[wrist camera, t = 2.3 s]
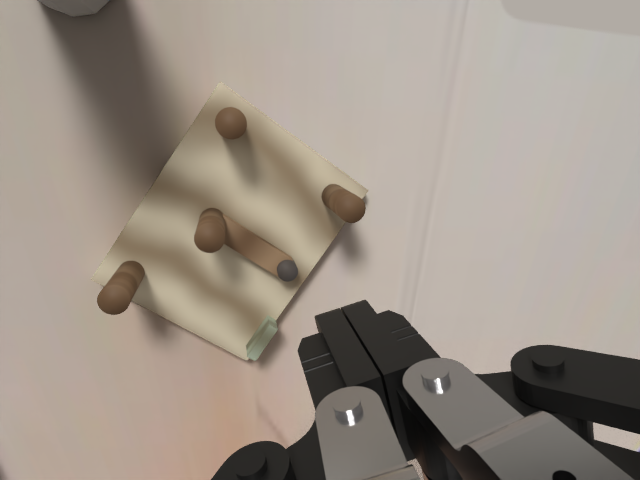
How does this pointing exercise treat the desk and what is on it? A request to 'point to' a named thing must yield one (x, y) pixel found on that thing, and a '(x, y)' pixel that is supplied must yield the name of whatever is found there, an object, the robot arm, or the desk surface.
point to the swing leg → (241, 243)
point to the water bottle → (75, 6)
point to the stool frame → (243, 207)
